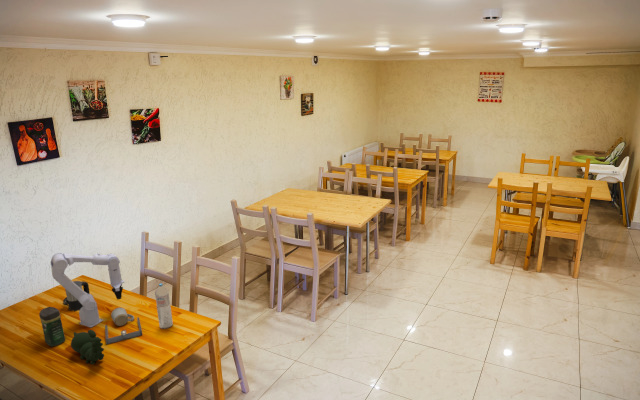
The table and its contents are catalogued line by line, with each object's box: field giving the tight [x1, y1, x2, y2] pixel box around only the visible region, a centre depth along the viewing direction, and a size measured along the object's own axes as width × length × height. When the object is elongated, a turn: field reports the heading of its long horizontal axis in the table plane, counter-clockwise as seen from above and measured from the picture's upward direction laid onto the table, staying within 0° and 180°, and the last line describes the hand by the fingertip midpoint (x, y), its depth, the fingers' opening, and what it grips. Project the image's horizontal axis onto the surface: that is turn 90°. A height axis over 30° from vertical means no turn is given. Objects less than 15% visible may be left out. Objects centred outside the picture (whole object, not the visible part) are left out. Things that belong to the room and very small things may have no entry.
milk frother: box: [62, 280, 91, 312], centre depth 256 cm, size 14×16×15 cm
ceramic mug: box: [110, 307, 135, 327], centre depth 239 cm, size 11×8×8 cm
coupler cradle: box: [104, 316, 143, 345], centre depth 229 cm, size 16×17×4 cm
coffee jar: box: [39, 306, 66, 347], centre depth 220 cm, size 10×8×19 cm
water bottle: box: [154, 282, 174, 330], centre depth 232 cm, size 7×7×25 cm
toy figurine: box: [70, 329, 105, 365], centre depth 208 cm, size 9×19×25 cm
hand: (119, 297), depth 245 cm, fingers open, 4 cm apart
